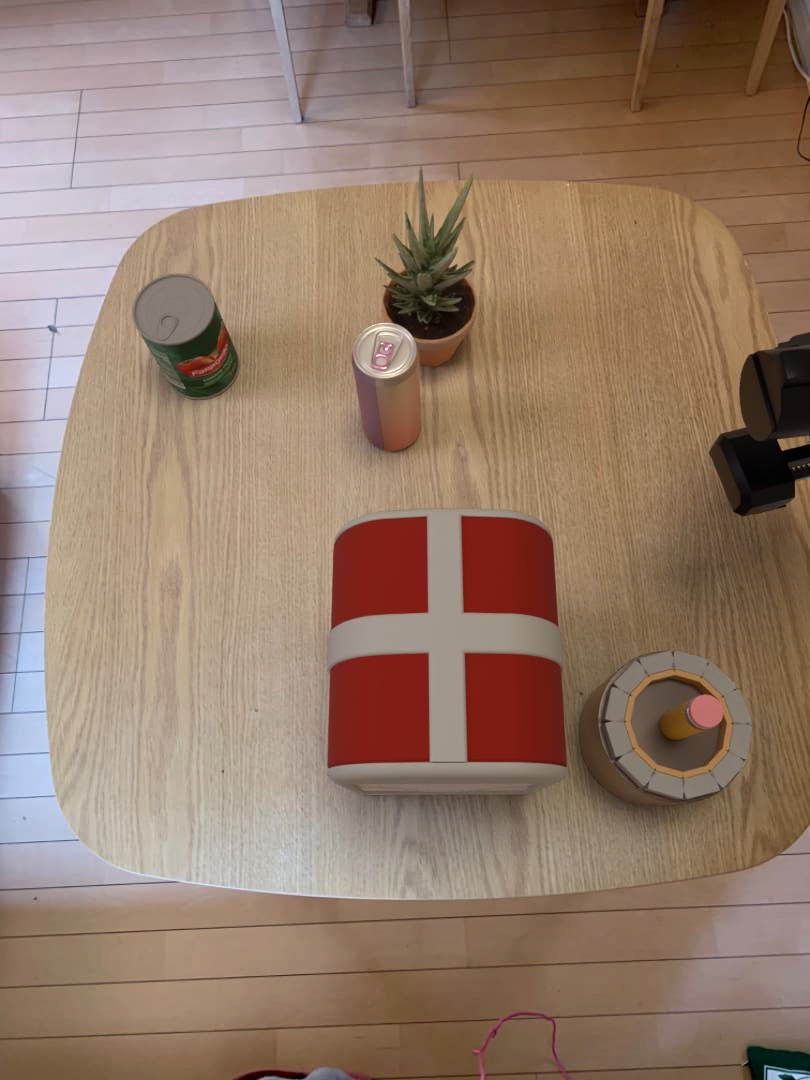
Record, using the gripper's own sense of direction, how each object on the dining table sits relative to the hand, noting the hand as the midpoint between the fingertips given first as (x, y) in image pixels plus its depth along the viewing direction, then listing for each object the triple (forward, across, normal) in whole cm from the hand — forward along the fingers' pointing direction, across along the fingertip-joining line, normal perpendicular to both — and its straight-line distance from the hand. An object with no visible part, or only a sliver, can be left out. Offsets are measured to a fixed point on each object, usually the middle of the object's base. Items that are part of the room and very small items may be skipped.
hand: (798, 489), depth 71 cm
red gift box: (+12, +33, +8) cm, 36 cm away
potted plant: (+12, +25, -29) cm, 40 cm away
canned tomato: (+12, +49, -32) cm, 60 cm away
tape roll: (+2, +16, +16) cm, 23 cm away
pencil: (+2, +16, +16) cm, 23 cm away
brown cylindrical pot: (+12, +16, +16) cm, 25 cm away
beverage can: (+12, +31, -20) cm, 39 cm away
